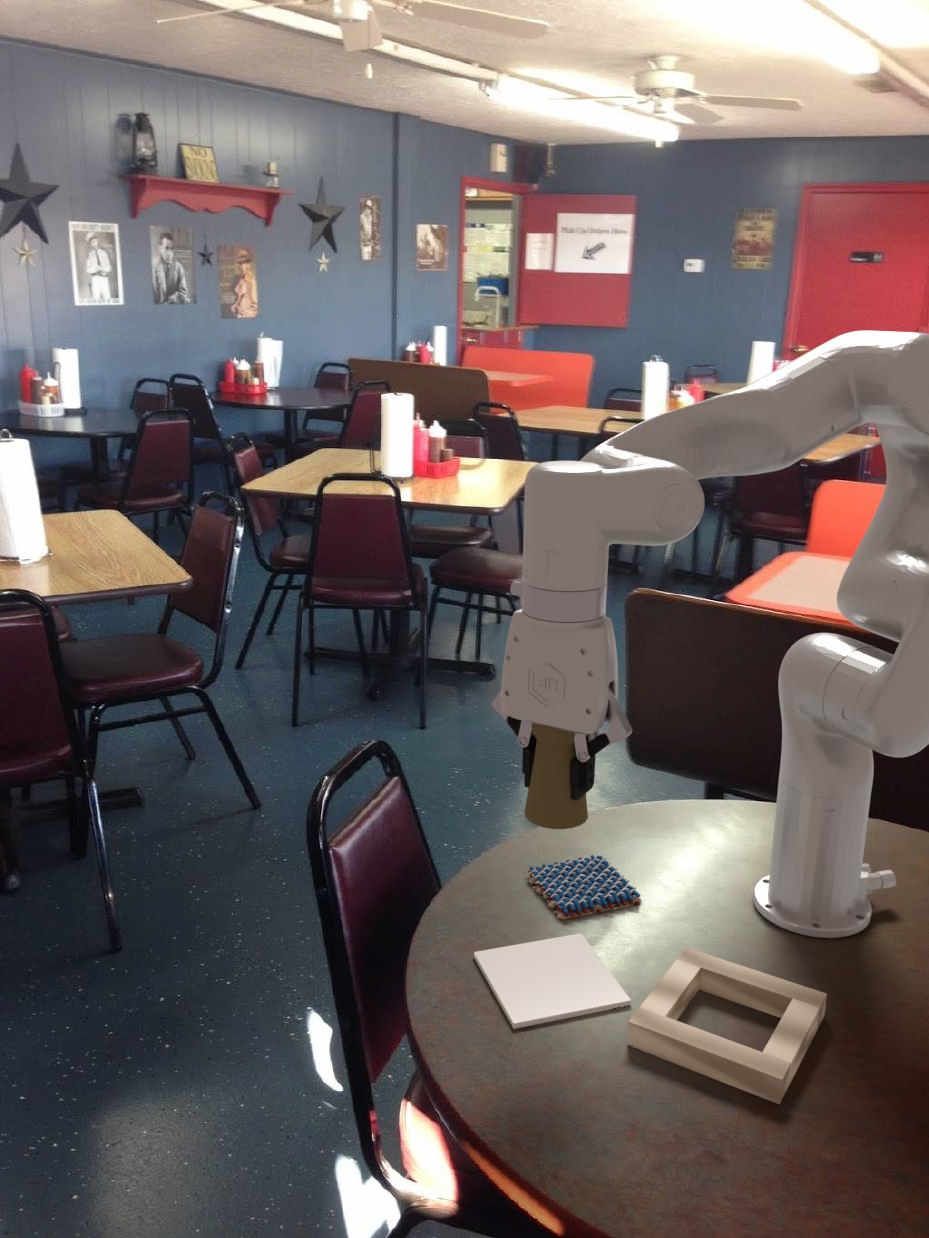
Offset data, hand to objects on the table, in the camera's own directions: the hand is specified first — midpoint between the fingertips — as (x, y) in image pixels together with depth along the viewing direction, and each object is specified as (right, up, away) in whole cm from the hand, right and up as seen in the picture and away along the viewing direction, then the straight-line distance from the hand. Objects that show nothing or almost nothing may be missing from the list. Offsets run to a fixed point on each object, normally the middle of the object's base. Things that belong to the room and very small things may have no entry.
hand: (557, 786), depth 102 cm
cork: (0, -3, +1) cm, 3 cm away
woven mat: (+5, -16, +23) cm, 28 cm away
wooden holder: (+16, -23, -1) cm, 27 cm away
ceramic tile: (0, -20, +6) cm, 21 cm away
